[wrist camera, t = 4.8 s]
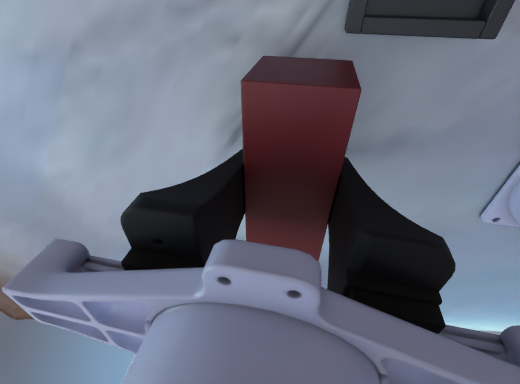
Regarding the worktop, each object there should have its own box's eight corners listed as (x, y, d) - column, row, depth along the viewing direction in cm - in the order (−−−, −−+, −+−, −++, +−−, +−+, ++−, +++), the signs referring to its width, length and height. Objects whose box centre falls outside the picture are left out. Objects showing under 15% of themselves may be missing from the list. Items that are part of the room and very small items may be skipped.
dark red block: (352, 60, 11) (361, 88, 8) (318, 221, 18) (315, 271, 15) (262, 55, 12) (240, 80, 9) (260, 213, 18) (246, 259, 15)
